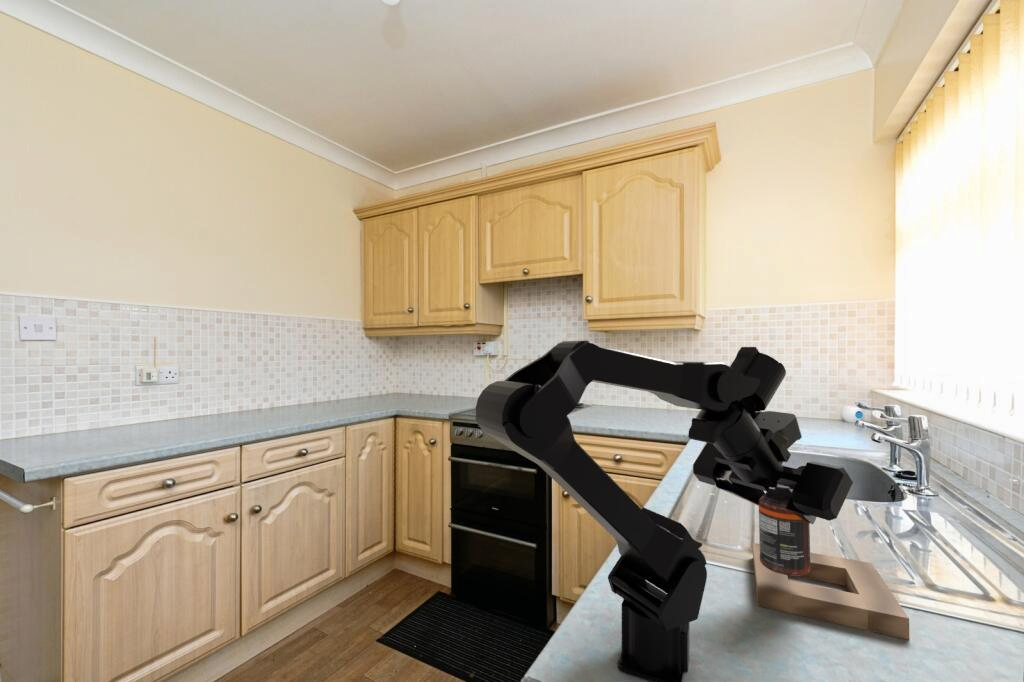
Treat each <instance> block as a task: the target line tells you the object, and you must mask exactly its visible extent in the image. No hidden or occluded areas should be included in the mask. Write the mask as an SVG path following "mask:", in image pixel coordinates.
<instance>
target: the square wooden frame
mask: <svg viewBox="0 0 1024 682" xmlns="http://www.w3.org/2000/svg"><path fill="white" fill-rule="evenodd" d="M752 562H753V573H754V581H755V591H756V601H757V602H756V603H757V606H758V607H762V608H765V609H771V610H774V611H780V612H783V613H788V614H794V615H798V616H803V617H805V618H811V619H814V620H815V619H816V620H818V621H819V620H820V621H824V622H829V623H833V624H836V625H843V626H845V627H846V626H847V627H852V628H856V629H860V630H865V631H869V632H873V633H874V632H875V633H878V634H882V635H888V636H892V637H896V638H901V639H905V640H910V618H909V616H908V615H907V613H906V612H905V610H904V609H903V607H902V606H901V604H900V602H899V600H897V599H896V597H895V595H894V594H893V592H892V591H891V590H890V587H889V585H887V583H886V582H885V580H884V579H883V577H882V576H881V574H880V573H879V572H878V570H877V568H876V567H875V566H874V564H873V562H867V561H862V560H856V559H852V558H844V557H839V556H832V555H826V554H821V553H816V552H810V572H809V573H808V574H806V575H802V576H797V577H799V578H804V579H809V580H814V581H821V582H824V583H825V582H826V583H831V584H835V585H841V586H845V587H846V588H847V589H846V590H847V591H844V590H839V589H834V588H829V587H824V586H819V585H814V584H809V583H803V582H797V581H793V580H789V578H788V577H789V575H784V574H780V573H776V572H773V571H771V570H770V569H768V568H766V567H765V566H763V564H762V563H761V562H760V553H759V543H756V542H752Z"/></svg>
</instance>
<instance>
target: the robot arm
mask: <svg viewBox="0 0 1024 682" xmlns="http://www.w3.org/2000/svg"><path fill="white" fill-rule="evenodd" d="M758 349H759V348H757V346H741V347H740V348H739V350H738V352H737V353H736V356H735V357H734V360H733V361H732V362H731V364H730V365H729V364H727V363H725V362H723V361H722V362H720V361H719V362H718V361H717V362H716V361H686V360H685V361H680V360H679V361H675V360H674V361H673V360H672V361H669V360H665V359H664V360H663V359H660V358H654V357H651V356H647V355H643V354H642V355H641V354H637V353H633V352H628V351H624V350H621V349H616V348H611V347H607V346H601V345H598V344H596V343H594V342H593V341H591V340H563V341H560V342H558V343H557V344H556V345H555V346H553V347H552V348H551V349H550V350H548V351H547V352H546V353H544V354H543V355H542V356H541V357H539V358H537V359H535V360H533V361H531V362H530V363H528V364H526V365H524V366H523V367H521V368H519V369H517V370H516V371H514V372H513V373H512V374H510V376H508V377H507V378H505V379H504V380H498V381H495V382H492V383H490V384H488V385H487V386H486V387H485V388H484V389H483V390H482V391H481V393H480V394H479V396H478V397H477V400H476V405H475V421H476V423H477V425H478V426H479V428H480V429H481V430H482V431H483V432H484V433H485V434H486V435H488V436H489V437H491V438H492V439H494V440H495V441H497V442H499V443H500V444H502V445H504V446H506V447H507V448H508V449H510V450H512V451H513V452H516V453H517V454H519V455H521V456H522V457H525V459H528V460H530V461H531V462H533V463H535V464H537V465H538V466H539V467H540V468H541V469H542V470H543V471H544V473H546V474H547V475H548V476H549V477H550V478H552V480H553V481H555V483H556V484H558V485H559V487H561V488H562V489H563V490H564V491H565V492H566V493H567V494H568V495H569V496H570V497H571V498H572V499H573V500H574V501H575V502H577V504H578V505H580V507H582V508H583V509H584V510H585V511H586V513H588V514H589V515H590V517H592V518H593V519H594V520H595V522H597V523H598V524H599V525H601V527H603V528H604V529H605V531H607V533H608V534H609V535H611V536H612V537H613V538H614V540H615V541H616V544H617V549H618V553H619V555H620V557H619V558H618V560H617V561H616V563H615V565H614V566H613V568H612V569H611V571H610V572H609V574H608V576H607V580H608V584H609V587H610V590H611V592H612V593H614V594H615V595H616V594H617V596H619V597H620V598H622V599H623V600H622V602H621V653H620V655H619V657H618V662H617V669H618V671H621V672H623V673H627V674H630V675H633V676H635V677H640V678H642V679H645V680H647V681H648V680H649V681H652V682H683V678H684V674H687V673H688V672H689V666H690V657H691V655H690V654H691V653H690V651H691V649H690V647H691V646H690V645H691V643H690V641H691V640H690V627H691V626H690V623H691V622H693V621H696V620H698V618H699V615H700V610H701V607H702V601H703V597H704V593H705V589H706V588H705V587H706V584H707V578H708V571H707V567H706V565H707V560H706V556H705V555H704V553H703V552H702V550H700V548H701V547H702V546H703V542H701V541H698V540H695V539H694V538H693V537H692V535H691V534H690V533H689V531H688V529H687V527H685V525H683V524H682V523H681V522H678V521H676V520H675V519H671V517H667V516H665V515H662V514H660V513H658V512H657V511H653V510H651V509H649V508H646V507H643V506H642V508H641V506H639V505H638V504H637V503H636V502H635V501H634V500H633V498H631V497H630V496H629V495H628V493H626V492H625V490H624V489H622V487H620V486H619V485H618V483H617V482H616V481H615V480H614V479H613V478H612V477H611V476H610V475H609V474H608V473H607V472H606V471H605V470H604V469H603V468H602V467H601V466H600V465H599V464H598V463H597V462H596V461H595V459H594V458H592V457H591V456H590V454H588V452H587V451H586V450H585V449H584V448H582V446H581V445H580V444H579V443H578V442H577V440H576V439H575V435H574V431H573V427H572V423H571V420H570V418H569V417H568V415H570V414H571V413H572V412H573V411H574V410H575V409H576V408H577V407H578V405H579V403H580V401H581V398H582V397H583V394H584V392H585V391H586V389H587V387H588V385H589V384H591V383H592V382H593V383H598V384H604V385H609V386H614V387H621V388H626V389H631V390H638V391H642V392H648V393H651V394H653V395H655V396H656V397H658V399H660V400H662V401H664V402H666V403H669V404H671V405H673V406H675V407H676V406H677V407H681V408H687V409H693V410H694V409H695V410H700V411H699V412H698V413H697V415H696V417H692V418H691V425H690V427H689V429H688V435H687V437H688V439H689V440H694V441H698V442H702V443H706V444H705V445H704V446H703V448H702V450H701V451H700V453H699V455H698V456H697V458H695V461H694V463H693V464H692V474H693V475H694V476H695V478H696V479H698V482H701V483H705V484H708V485H711V486H715V487H716V488H717V489H718V490H722V491H724V492H727V493H729V494H731V495H734V496H736V497H738V498H740V499H742V500H745V501H747V502H749V503H751V504H753V505H755V506H758V507H759V499H760V498H761V497H762V496H764V495H765V494H766V492H767V491H768V489H769V488H770V489H776V487H777V485H778V484H780V485H784V486H788V487H789V490H790V491H791V492H792V497H791V499H790V501H789V502H788V504H787V506H786V509H787V510H789V511H790V512H792V513H794V514H795V515H797V516H798V517H800V518H802V519H803V520H805V521H807V522H809V523H810V524H811V525H814V524H815V522H816V520H817V518H819V519H823V520H826V521H832V520H835V519H837V518H838V516H839V514H840V512H841V509H842V507H843V505H844V503H845V501H846V498H847V496H848V494H849V492H850V489H851V488H852V486H853V483H854V481H853V480H852V479H851V477H850V475H849V473H848V472H847V471H846V468H845V467H842V466H838V465H831V464H827V463H822V462H820V461H819V462H818V461H808V462H806V464H805V465H800V466H799V467H797V468H795V467H791V466H790V467H789V466H786V465H784V464H783V463H787V462H789V460H790V459H791V456H792V454H791V452H790V451H789V449H790V448H791V447H792V445H794V444H795V442H797V441H799V440H801V439H802V432H801V429H800V427H799V422H798V418H797V415H796V414H795V413H789V412H781V411H780V412H779V411H772V410H766V409H767V407H768V406H769V404H770V403H771V401H772V399H773V397H774V396H775V394H776V392H777V390H778V389H779V387H780V386H781V384H782V382H783V381H784V379H785V376H786V374H787V370H786V367H785V366H784V364H783V363H782V362H779V361H778V360H776V359H775V358H774V357H772V356H771V355H768V354H766V353H763V352H760V351H759V350H758ZM765 410H766V411H765Z"/></svg>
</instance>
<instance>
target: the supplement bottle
mask: <svg viewBox="0 0 1024 682" xmlns="http://www.w3.org/2000/svg"><path fill="white" fill-rule="evenodd" d="M791 497H792V492H791V491H790V490H789V487H788V486H784V485H780V484H778V485H777V487H776V489H770V488H769V489H768V491H767V492H766V491H765V495H764V496H762V497H761V498H760V499H759V506H758V540H759V542H758V544H759V553H760V562H761V563H762V564H763V566H765V567H766V568H768V569H770V570H771V571H773V572H776V573H780V574H784V575H787V576H788V577H789V576H790V577H798V576H802V575H806V574H808V573H809V572H810V553H811V535H810V533H811V532H810V530H811V529H810V528H811V527H810V524H811V523H809V522H807V521H805V520H803V519H802V518H800V517H798V516H797V515H795V514H794V513H792V512H790V511H789V510H787V509H786V506H787V504H788V502H789V501H790V499H791Z"/></svg>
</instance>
